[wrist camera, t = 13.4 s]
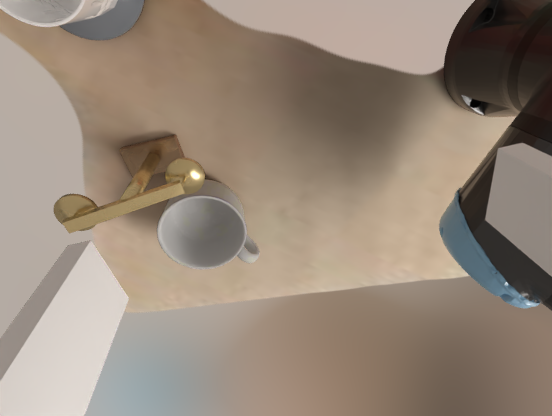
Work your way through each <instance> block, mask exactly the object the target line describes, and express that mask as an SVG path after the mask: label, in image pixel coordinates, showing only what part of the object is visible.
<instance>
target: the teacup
mask: <svg viewBox="0 0 552 416" xmlns="http://www.w3.org/2000/svg"><path fill="white" fill-rule="evenodd" d="M157 236H158V241H159V243H160V246H161V247H162V249H163V251H164V252H165V253H166V254H167V255H168V256H169V257H170V258H171V259H172V260H174V261H175V262H177V263H178V264H181V265H183V266H186V267H189V268H194V269H212V268H216V267H220V266H222V265H224V264H226V263H228V262H229V261H231V260H232V259H233V258H235V257H236V256H238V257H239V258H240V259H241V260H242V261H244V262H246V263H253V262H255V261H256V260H257V258H258V257H259V249H258V247H257V245H256V244H255V242H254V241H253V240H252V239H251V238H250V237H249V236H248V235H247V229H246V224H245V218H244V211H243V207H242V204H241V202H240V200H239V198H238V197H237V195H236V194H235V193H234V192H233V191H232V190H231V189H230V188H229V187H227V186H226V185H224V184H222V183H220V182H217V181H213V180H204V184H203V186H202V187H201V189H200V190H198V191H197V192H195V193H192V194H181V195H178V196H176V197H173V198H170V199H169V201H168V203H167V205H166V207H165V209H164V212H163V214H162V215H161V217H160V219H159V222H158V226H157ZM243 245H244V246H245V247H246V249H247V250H248V251H247V250H246V249H245V248H244V246H243Z"/></svg>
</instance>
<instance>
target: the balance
mask: <svg viewBox="0 0 552 416" xmlns="http://www.w3.org/2000/svg"><path fill="white" fill-rule="evenodd" d="M119 151H120V153H121V155H122V157H123V159H124V161H125V163H126V165H127V167H128V169H129V171H130V173H131V175H132V177H133V179H132V181H131V182H130V184H129V185H128V187H127V189H126V190H125V192H124V193H123V195H122V197H121V198H120V200H118V201H115V202H113V203H110V204H107V205H104V206H101V207H98V206H97V205H96V204H95V203H94V202H93V201H92V200H91V199H89V198H87V197H85V196H83V195H79V194H67V195H64V196H62V197H61V198H60V199H59V200H58V201H57V202H56V203H55V205H54V214H55V216H56V218H57V219H58V221H59V222H60V223H61V224H63V225H64V226H65V228H66V229H67V231H68V232H69V233H72V232H75V231H84V230H89V229H91V228H93V227H94V226H95V225H96V224H98V223H101V222H104V221H107V220H110V219H112V218H115V217H118V216H121V215H124V214H127V213H130V212H133V211H135V210H138V209H141V208H144V207H147V206H150V205H153V204H156V203H158V202H161V201H164V200H167V199H170V198H173V197H176V196H178V195H181V194H192V193H195V192H197V191H198V190H200V189H201V187H202V186H203V184H204V180H205V173H204V170H203V168H202V167H201V165H200V164H199V163H197V162H196V161H194V160H192V159H189V158H185V157H184V154H183V152H182V149H181V147H180V144H179V141H178V139H177V136H176V135H172V136H168V137H164V138H159V139H155V140H151V141H146V142H142V143H138V144H134V145H129V146H125V147H122V148H121V149H120V150H119ZM162 172H165V178H166V182H167V184H166V185H163V186H160V187H157V188H154V189H151V190H148V191H145V192H144V190H145V189H146V187H147V185H148V183H149V181H150V179H151V177H152V175H153V174H157V173H162Z"/></svg>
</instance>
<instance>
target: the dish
mask: <svg viewBox="0 0 552 416" xmlns="http://www.w3.org/2000/svg"><path fill="white" fill-rule="evenodd" d="M144 2H145V0H118V1H117V3H116V5H115V7H114V8H113V9H111V10H110V11H108V12H106V13H105V14H103V15H101V16H97V17H94V18H91V19H87V20H84V21H80V22H75V23H69V24H64V25H60V27H61V28H63V29H64V30H66V31H68V32H70V33H72V34H74V35H76V36H79V37H82V38H86V39H90V40H108V39H113V38H116V37H119V36H121V35H123V34H125V33H126V32H127V31H129V30H130V29H131V28H132V27H133V26H134V25H135V23H136V22H137V20H138V19H139V17H140V15H141V13H142V10H143V6H144Z"/></svg>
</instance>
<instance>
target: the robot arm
mask: <svg viewBox="0 0 552 416" xmlns="http://www.w3.org/2000/svg"><path fill="white" fill-rule="evenodd" d="M444 77H445V83H446V86H447V89H448V91H449V93H450V95H451V97H452V98H453V100H454V101H455V102H456V103H457V104H458V105H460V106H461V107H463V108H464V109H467V110H469V111H471V112H473V113H476V114H478V115H482V116H487V117H509V116H517V117H516V118H515V120H514V121H513V122H512V123H511V125H510V126H509V127H508V128H507V129H506V131H505V132H504V133H503V135H502V136H501V137H500V139H499V140H498V141H497V143H496V144H495V145H494V146H493V148H492V149H491V150H490V152H489V153H488V154H487V156H486V157H485V158H484V160H483V161H482V162H481V163H480V165H479V166H478V167H477V169H476V170H475V171H474V173H473V174H472V175H471V177H470V178H469V179H468V180H467V182H466V183H465V184H464V186H463V187H462V188H459V189H458V190H457V192H456V193H455V197H454V199H453V200H452V202H451V203H450V205H449V206H448V208H447V209H446V211H445V212H444V214H443V215H442V217H441V219H440V223H439V230H440V235H441V237H442V240H443V243H444V244H445V246H446V248H447V250H448V251H449V253H450V254H451V255H452V257H453V258H454V259H455V260H456V261H457V263H458V264H459V265H460V266H461V267H462V268H463V269H464V270H465V271H466V272H467V273H468V274H469V275H470V276H471V277H472V278H473V279H474V280H475V281H476V282H477V283H479V284H480V285H481V286H482V287H484V288H485V289H486V290H488V291H489V292H490V293H492V294H493V295H495V296H500V297H501V298H502V299H503V300H504V301H505V302H507V303H509V304H511V305H513V306H516V307H519V308H529V307H532V306H537V305H539V304H540V302H541V303H542V304H544V305H545V306H546V307H548V308H549V309H550V310H552V0H475V1H474V2H473V3H472V4H471V6H470V7H469V8H468V9H467V10H466V12H465V13H464V15H463V16H462V17H461V19H460V20H459V22H458V24H457V26H456V27H455V29H454V32H453V34H452V36H451V38H450V41H449V44H448V47H447V51H446V55H445V63H444ZM128 300H129V298H128V296H127V295H126V293H125V292H124V290H123V289H122V287H121V286H120V284H119V283H118V281H117V280H116V278H115V276H114V275H113V273H112V272H111V270H110V269H109V267H108V266H107V264H106V263H105V261H104V260H103V258H102V257H101V255H100V254H99V252H98V250H97V249H96V247H95V246H94V244H93V243H92V241H85V242H81V243H77V244H72V245H68V246H67V247H66V249H65V250H64V252H63V253H62V254H61V256H60V257H59V258H58V260H57V261H56V262H55V264H54V265H53V267H52V268H51V270H50V271H49V272H48V274H47V275H46V276H45V278H44V279H43V280H42V282H41V283H40V285H39V286H38V287H37V289H36V290H35V292H34V293H33V294H32V296H31V297H30V298H29V300H28V301H27V302H26V304H25V305H24V307H23V308H22V309H21V311H20V312H19V314H18V315H17V316H16V318H15V319H14V320H13V322H12V323H11V325H10V326H9V327H8V329H7V330H6V332H5V333H4V334H3V336H2V337H1V338H0V416H84V415H85V412H86V410H87V407H88V404H89V402H90V399H91V397H92V394H93V391H94V389H95V386H96V383H97V381H98V378H99V375H100V373H101V370H102V368H103V365H104V362H105V360H106V357H107V354H108V352H109V349H110V347H111V344H112V341H113V339H114V336H115V334H116V331H117V328H118V326H119V323H120V321H121V318H122V315H123V313H124V310H125V307H126V305H127V302H128Z"/></svg>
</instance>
